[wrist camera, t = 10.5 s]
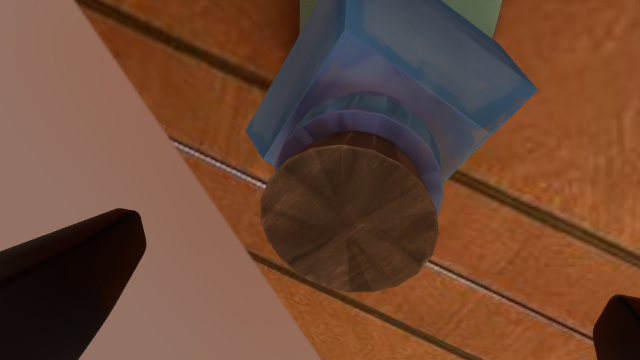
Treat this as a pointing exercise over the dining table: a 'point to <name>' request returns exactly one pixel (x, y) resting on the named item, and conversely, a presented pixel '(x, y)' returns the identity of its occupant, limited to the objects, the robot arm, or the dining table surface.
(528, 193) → the dining table surface
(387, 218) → the perfume bottle
